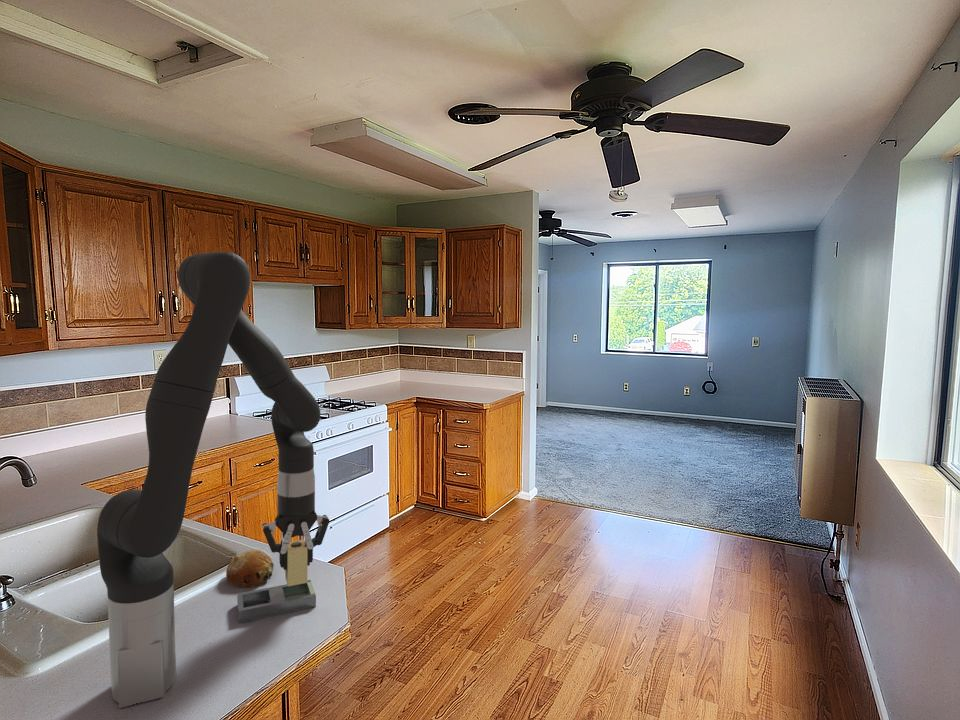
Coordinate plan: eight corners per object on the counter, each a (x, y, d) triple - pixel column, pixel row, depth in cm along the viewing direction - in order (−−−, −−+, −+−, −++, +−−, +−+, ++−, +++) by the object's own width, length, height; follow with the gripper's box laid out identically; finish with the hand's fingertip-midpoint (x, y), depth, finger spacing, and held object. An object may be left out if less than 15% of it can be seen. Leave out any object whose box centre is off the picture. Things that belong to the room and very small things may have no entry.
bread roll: (264, 579, 132) (256, 546, 134) (284, 575, 126) (276, 541, 127) (224, 595, 125) (216, 560, 126) (243, 592, 118) (235, 555, 120)
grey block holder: (315, 606, 115) (315, 595, 115) (239, 623, 109) (238, 611, 108) (310, 590, 121) (310, 579, 121) (237, 604, 115) (237, 593, 114)
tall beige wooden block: (307, 582, 115) (307, 546, 114) (287, 586, 114) (287, 550, 113) (304, 573, 119) (304, 538, 118) (285, 577, 117) (285, 541, 116)
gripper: (261, 499, 107) (262, 581, 109) (334, 490, 114) (333, 568, 116) (258, 487, 114) (259, 564, 116) (327, 479, 120) (326, 552, 122)
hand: (296, 565), depth 116 cm, fingers closed on tall beige wooden block, 4 cm apart
